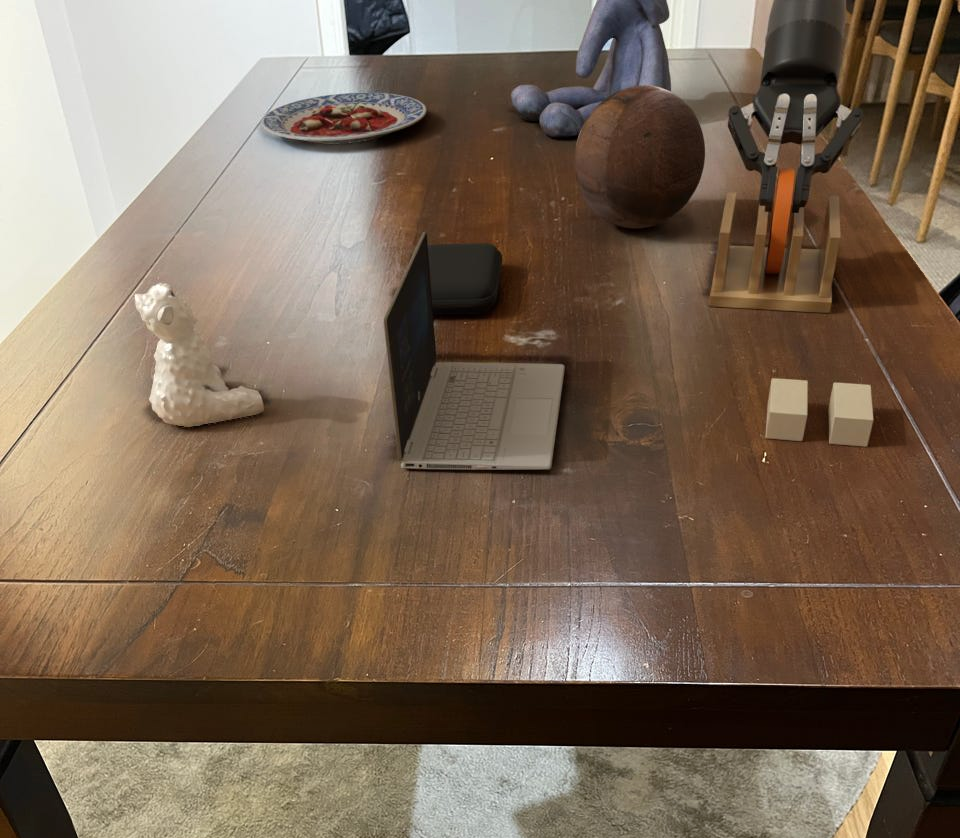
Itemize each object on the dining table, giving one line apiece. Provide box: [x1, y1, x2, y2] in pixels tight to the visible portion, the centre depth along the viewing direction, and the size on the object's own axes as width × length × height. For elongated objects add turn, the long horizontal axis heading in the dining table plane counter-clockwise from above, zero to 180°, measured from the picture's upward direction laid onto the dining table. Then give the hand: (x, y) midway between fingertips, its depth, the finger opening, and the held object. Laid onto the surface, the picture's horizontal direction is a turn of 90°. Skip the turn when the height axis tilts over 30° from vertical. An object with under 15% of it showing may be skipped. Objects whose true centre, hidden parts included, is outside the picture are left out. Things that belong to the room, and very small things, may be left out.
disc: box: [765, 168, 796, 274], centre depth 104 cm, size 2×10×10 cm, turn 166°
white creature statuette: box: [134, 282, 265, 427], centre depth 87 cm, size 10×9×12 cm
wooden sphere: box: [574, 85, 706, 229], centre depth 117 cm, size 15×15×15 cm
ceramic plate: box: [261, 92, 427, 144], centre depth 158 cm, size 26×26×3 cm
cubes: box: [764, 377, 874, 448], centre depth 84 cm, size 8×6×2 cm
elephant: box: [510, 0, 672, 139], centre depth 151 cm, size 21×25×21 cm
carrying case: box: [428, 242, 503, 316], centre depth 108 cm, size 11×3×15 cm
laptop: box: [383, 230, 566, 471], centre depth 84 cm, size 18×12×13 cm
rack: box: [708, 191, 842, 314], centre depth 105 cm, size 12×14×7 cm
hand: (782, 208), depth 100 cm, fingers closed
